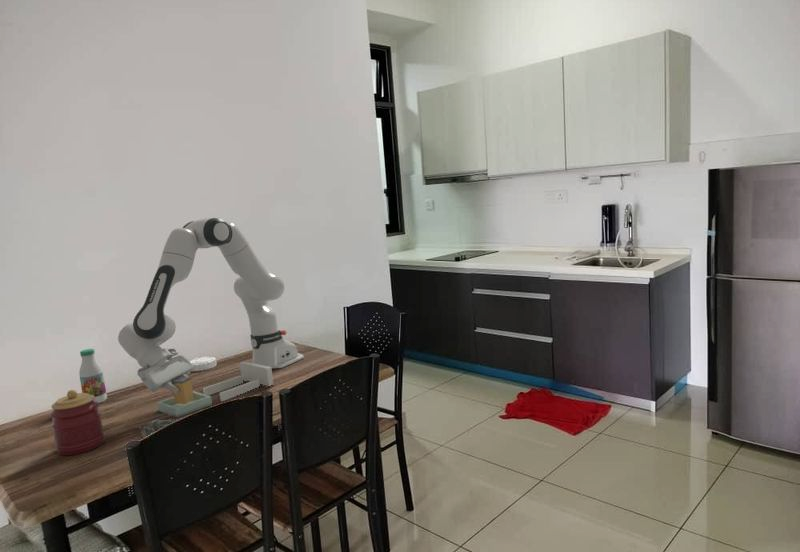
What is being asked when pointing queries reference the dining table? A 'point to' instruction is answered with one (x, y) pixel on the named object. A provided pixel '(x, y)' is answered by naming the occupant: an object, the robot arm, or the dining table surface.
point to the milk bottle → (92, 376)
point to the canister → (76, 423)
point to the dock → (248, 373)
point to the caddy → (183, 390)
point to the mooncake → (203, 363)
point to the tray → (184, 405)
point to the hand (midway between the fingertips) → (184, 388)
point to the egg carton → (154, 426)
